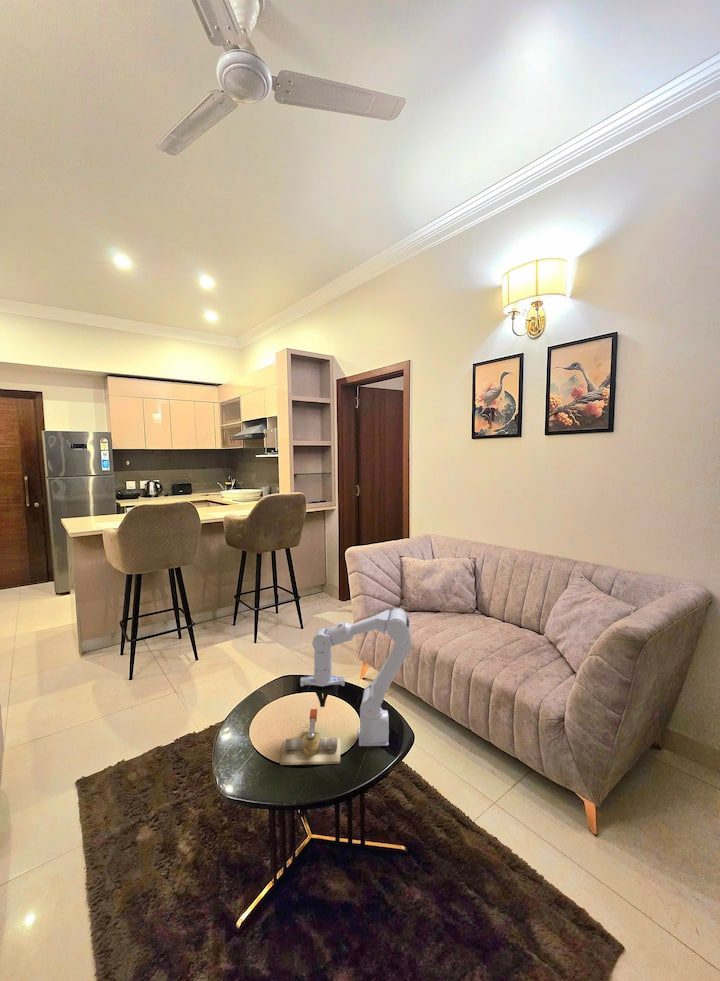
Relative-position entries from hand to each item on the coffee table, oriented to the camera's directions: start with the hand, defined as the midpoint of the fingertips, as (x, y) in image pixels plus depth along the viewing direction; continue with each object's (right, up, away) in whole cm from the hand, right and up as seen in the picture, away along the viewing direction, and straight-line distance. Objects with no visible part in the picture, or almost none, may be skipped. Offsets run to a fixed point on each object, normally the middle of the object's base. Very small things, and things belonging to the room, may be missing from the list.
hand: (322, 705), depth 133 cm
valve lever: (-3, -5, -4) cm, 7 cm away
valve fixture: (-3, -10, -8) cm, 13 cm away
